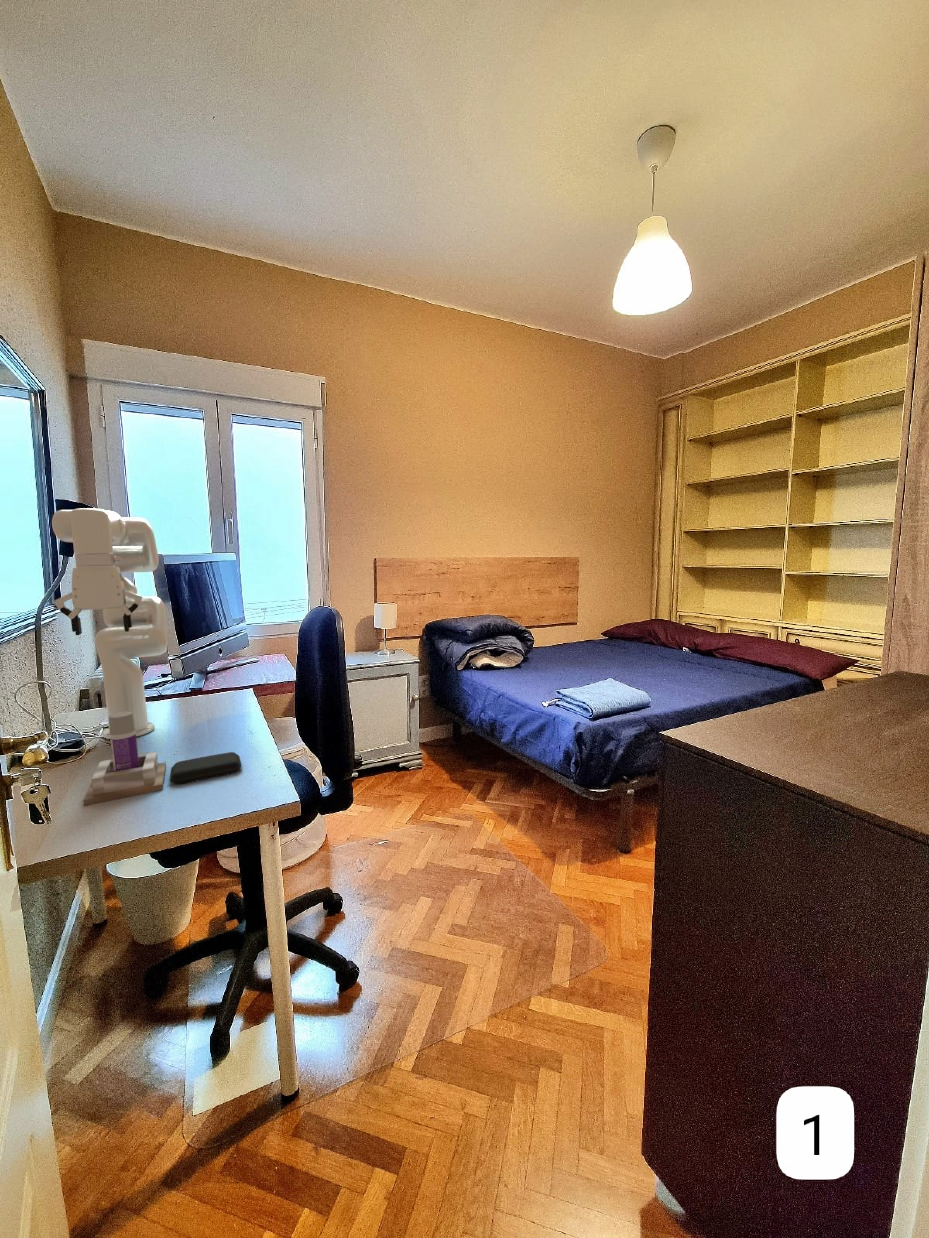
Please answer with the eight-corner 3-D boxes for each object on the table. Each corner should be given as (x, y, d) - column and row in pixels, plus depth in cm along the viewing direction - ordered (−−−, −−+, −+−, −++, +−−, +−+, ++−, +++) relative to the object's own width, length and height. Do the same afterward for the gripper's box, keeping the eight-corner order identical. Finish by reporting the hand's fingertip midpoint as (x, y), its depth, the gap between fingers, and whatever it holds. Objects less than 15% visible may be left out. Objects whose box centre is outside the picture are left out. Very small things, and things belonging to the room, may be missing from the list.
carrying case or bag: (239, 758, 127) (172, 771, 120) (238, 747, 127) (170, 759, 120) (242, 774, 118) (170, 788, 111) (241, 761, 117) (168, 775, 111)
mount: (95, 779, 116) (93, 760, 115) (166, 766, 122) (164, 748, 122) (83, 805, 103) (81, 783, 103) (162, 789, 110) (160, 768, 109)
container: (145, 775, 114) (138, 711, 113) (126, 784, 110) (119, 718, 108) (129, 773, 116) (122, 710, 114) (110, 782, 111) (102, 717, 109)
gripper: (139, 560, 127) (146, 627, 129) (53, 562, 119) (62, 633, 121) (136, 561, 120) (144, 631, 122) (44, 563, 112) (54, 638, 114)
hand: (103, 632), depth 122 cm, fingers open, 9 cm apart
